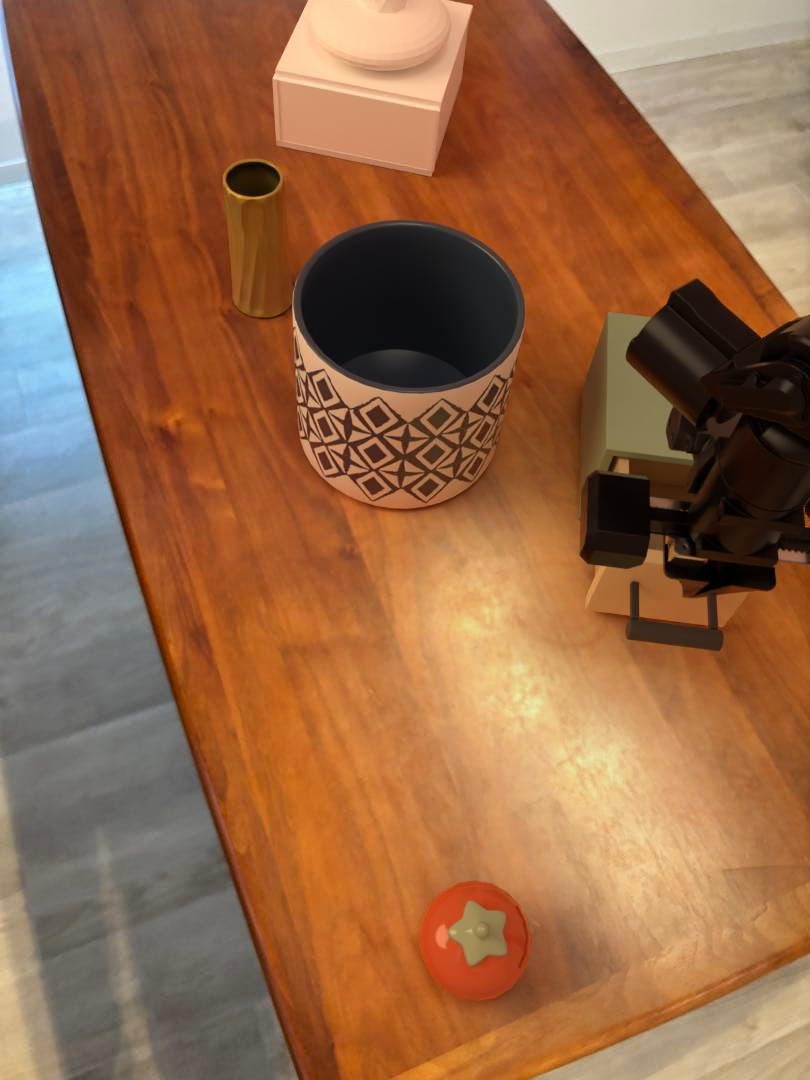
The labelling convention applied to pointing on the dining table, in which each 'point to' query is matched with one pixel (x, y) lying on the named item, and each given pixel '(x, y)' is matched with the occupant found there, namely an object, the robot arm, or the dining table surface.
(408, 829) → the dining table surface
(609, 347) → the cabinet
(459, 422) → the planter
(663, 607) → the drawer
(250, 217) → the vase
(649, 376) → the robot arm
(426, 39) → the pink lidded box
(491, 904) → the tomato
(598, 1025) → the dining table surface
